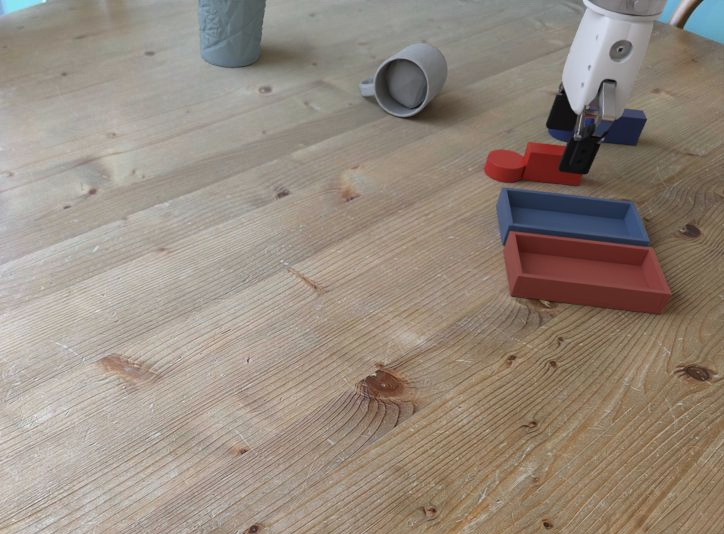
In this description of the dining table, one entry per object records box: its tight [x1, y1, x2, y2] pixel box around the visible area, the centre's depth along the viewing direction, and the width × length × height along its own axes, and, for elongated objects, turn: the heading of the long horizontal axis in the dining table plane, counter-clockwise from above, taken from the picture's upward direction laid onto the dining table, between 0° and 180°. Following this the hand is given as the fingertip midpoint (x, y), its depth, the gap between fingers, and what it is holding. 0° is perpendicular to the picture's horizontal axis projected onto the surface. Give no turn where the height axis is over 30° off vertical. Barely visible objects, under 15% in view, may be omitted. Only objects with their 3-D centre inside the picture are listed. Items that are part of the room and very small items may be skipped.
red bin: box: [503, 231, 673, 315], centre depth 73 cm, size 14×7×2 cm, turn 82°
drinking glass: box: [197, 0, 267, 68], centre depth 104 cm, size 10×10×12 cm
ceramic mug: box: [358, 42, 449, 118], centre depth 97 cm, size 11×8×8 cm
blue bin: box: [495, 186, 651, 247], centre depth 79 cm, size 14×7×2 cm, turn 82°
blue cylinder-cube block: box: [547, 106, 648, 146], centre depth 94 cm, size 11×4×4 cm, turn 82°
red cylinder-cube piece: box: [483, 141, 583, 187], centre depth 86 cm, size 11×4×4 cm, turn 82°
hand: (565, 149), depth 85 cm, fingers open, 9 cm apart
